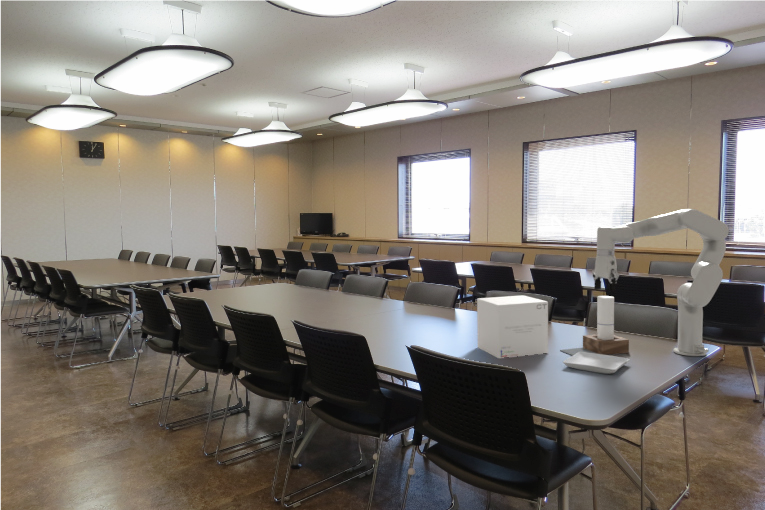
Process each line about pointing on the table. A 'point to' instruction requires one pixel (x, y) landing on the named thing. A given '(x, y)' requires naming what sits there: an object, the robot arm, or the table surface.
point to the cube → (512, 326)
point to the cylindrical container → (605, 317)
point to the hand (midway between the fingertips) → (604, 290)
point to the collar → (606, 345)
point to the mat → (576, 351)
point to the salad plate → (595, 362)
